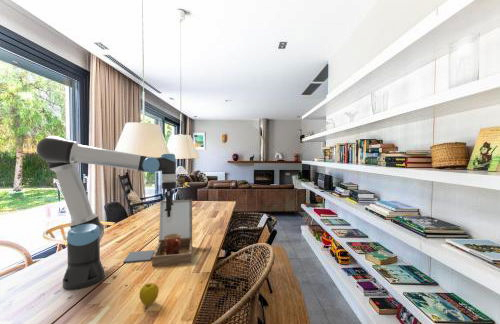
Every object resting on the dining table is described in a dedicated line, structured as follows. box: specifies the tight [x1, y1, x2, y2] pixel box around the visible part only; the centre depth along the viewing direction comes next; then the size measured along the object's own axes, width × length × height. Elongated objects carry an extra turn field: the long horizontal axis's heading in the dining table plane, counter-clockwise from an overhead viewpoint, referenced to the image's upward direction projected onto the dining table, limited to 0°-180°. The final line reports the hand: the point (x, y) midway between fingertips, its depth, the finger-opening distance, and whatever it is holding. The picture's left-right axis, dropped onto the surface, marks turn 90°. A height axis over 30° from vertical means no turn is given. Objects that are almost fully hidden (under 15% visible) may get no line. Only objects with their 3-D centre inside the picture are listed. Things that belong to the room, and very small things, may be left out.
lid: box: [158, 199, 193, 241], centre depth 149 cm, size 23×19×1 cm
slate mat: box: [123, 249, 155, 264], centre depth 132 cm, size 13×13×1 cm
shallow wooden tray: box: [151, 237, 193, 267], centre depth 134 cm, size 23×19×6 cm
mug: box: [164, 234, 182, 255], centre depth 134 cm, size 12×9×10 cm
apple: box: [138, 282, 160, 306], centre depth 89 cm, size 6×6×8 cm
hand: (169, 219), depth 135 cm, fingers open, 13 cm apart
